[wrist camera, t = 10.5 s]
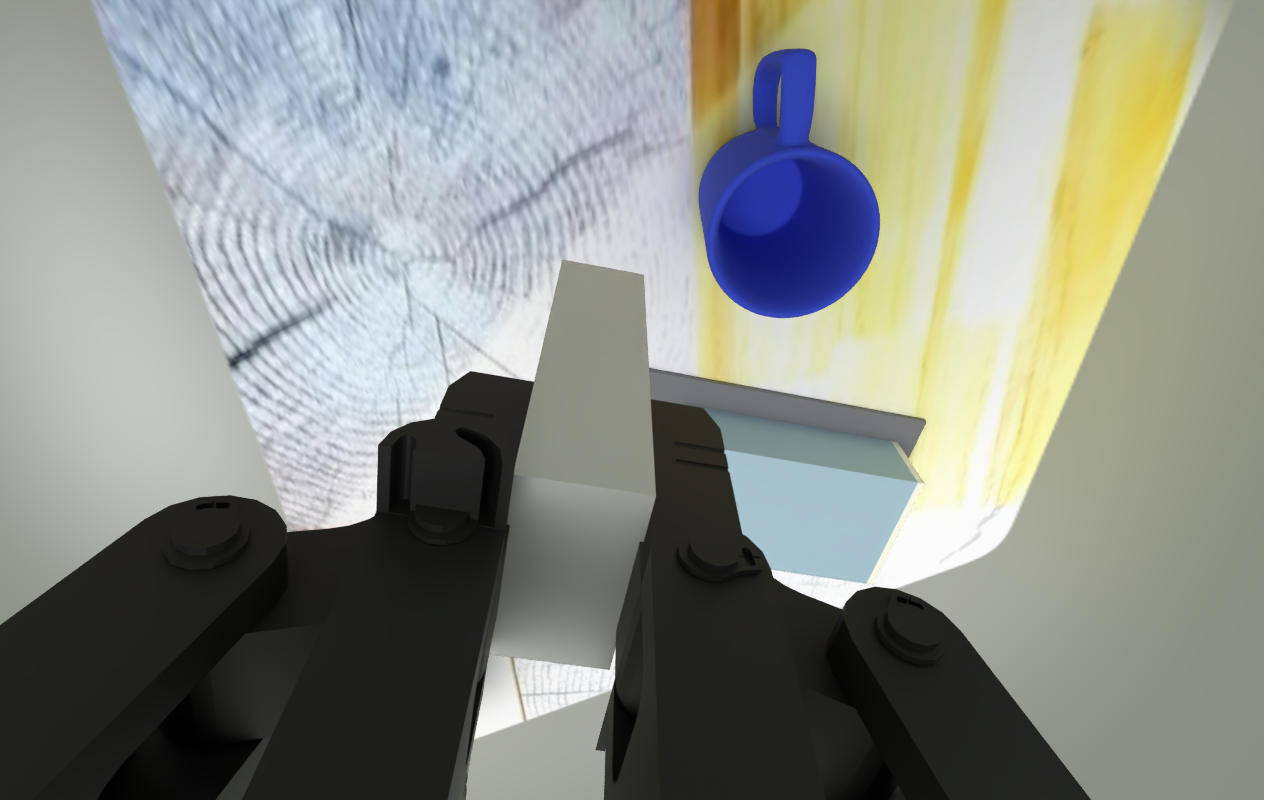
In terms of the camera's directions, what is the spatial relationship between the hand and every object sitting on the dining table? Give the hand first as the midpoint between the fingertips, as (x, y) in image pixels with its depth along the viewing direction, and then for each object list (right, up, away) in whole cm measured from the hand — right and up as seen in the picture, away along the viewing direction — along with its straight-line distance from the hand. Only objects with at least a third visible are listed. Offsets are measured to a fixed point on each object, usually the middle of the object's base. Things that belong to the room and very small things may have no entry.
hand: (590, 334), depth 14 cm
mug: (+8, +13, +28) cm, 32 cm away
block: (+3, -7, +36) cm, 36 cm away
